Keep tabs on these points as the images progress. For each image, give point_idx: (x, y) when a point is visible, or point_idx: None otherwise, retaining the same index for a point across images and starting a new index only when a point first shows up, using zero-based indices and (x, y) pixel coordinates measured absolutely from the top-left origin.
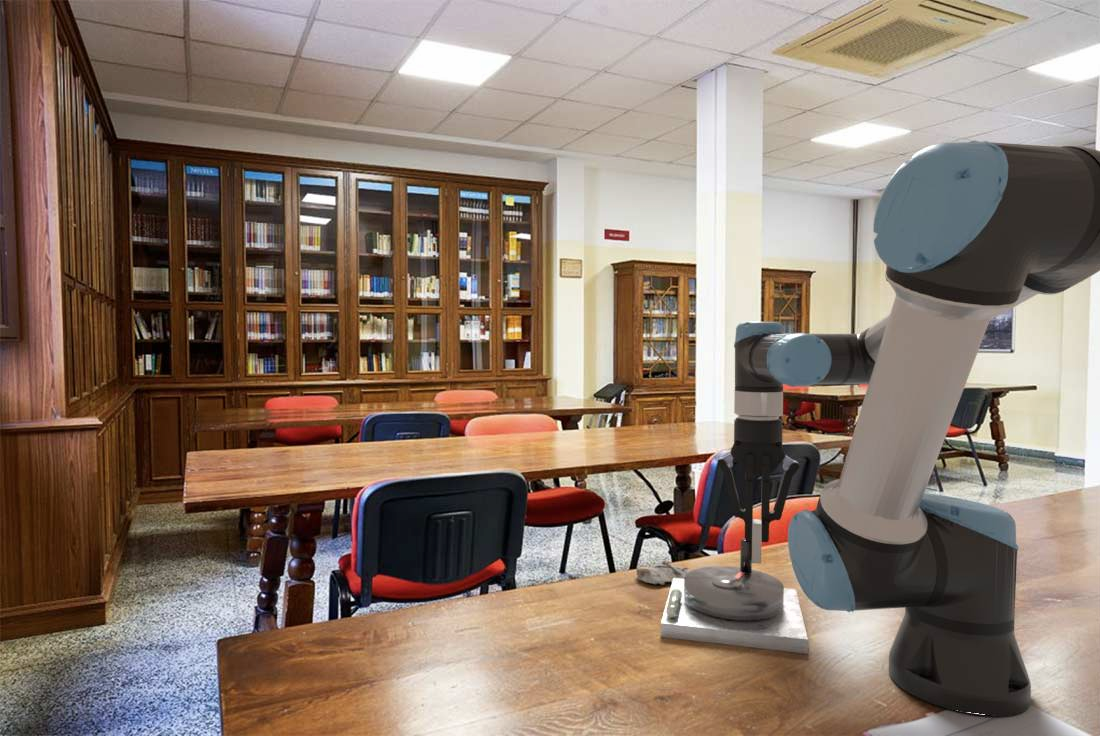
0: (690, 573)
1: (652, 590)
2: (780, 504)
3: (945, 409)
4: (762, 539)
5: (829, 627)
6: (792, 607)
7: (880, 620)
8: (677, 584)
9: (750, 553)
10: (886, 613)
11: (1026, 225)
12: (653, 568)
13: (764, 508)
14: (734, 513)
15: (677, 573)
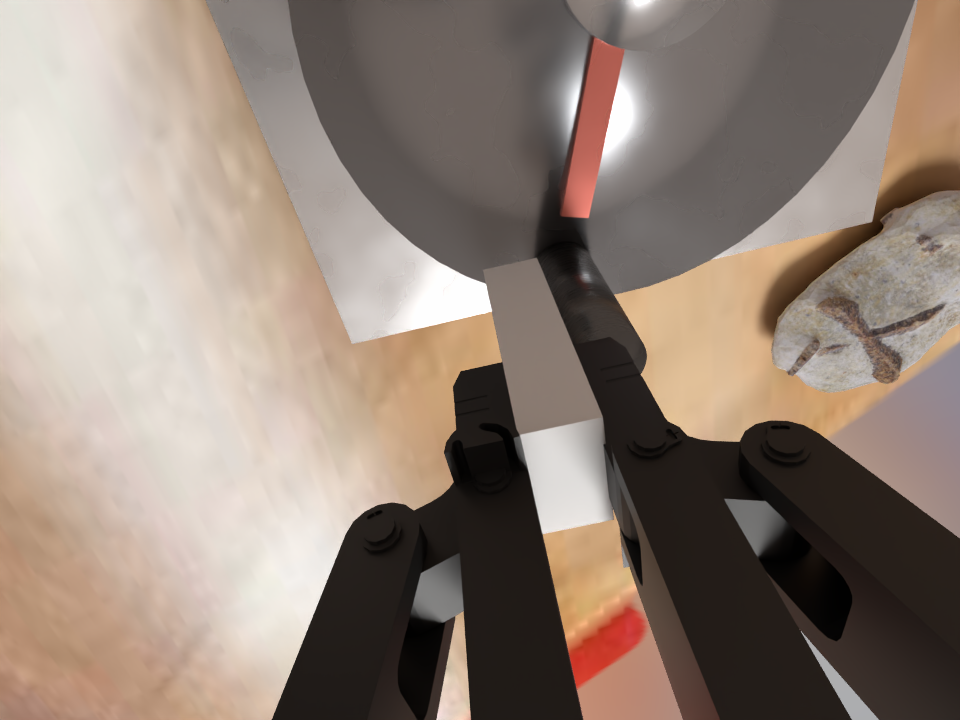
0: (877, 49)
1: (934, 144)
2: (335, 674)
3: None
4: (497, 373)
5: (135, 95)
6: (291, 107)
7: (13, 285)
8: (860, 142)
9: (558, 306)
10: (34, 362)
11: None
12: (949, 291)
13: (517, 577)
14: (816, 444)
15: (839, 301)
